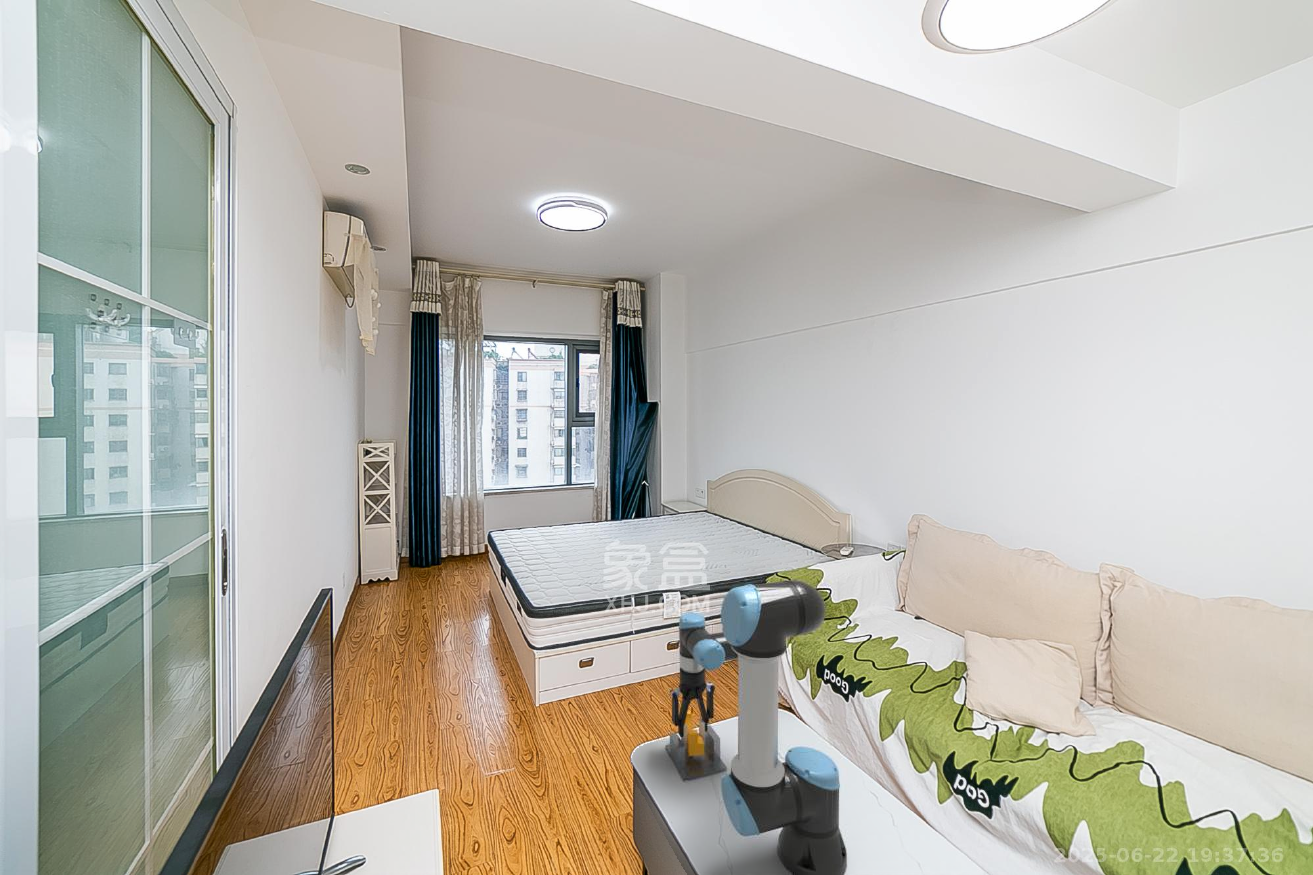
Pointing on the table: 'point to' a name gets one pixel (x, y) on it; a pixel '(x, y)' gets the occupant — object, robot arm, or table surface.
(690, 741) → the orange angled block
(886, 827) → the table surface
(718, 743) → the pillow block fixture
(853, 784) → the table surface
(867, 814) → the table surface
